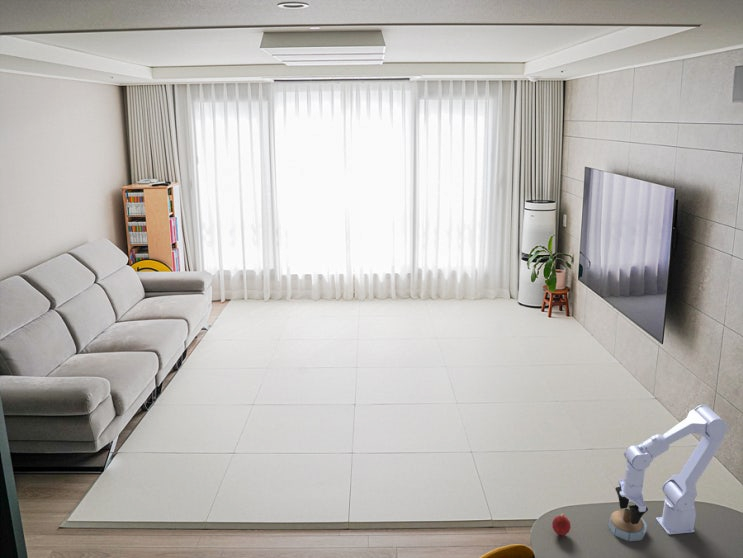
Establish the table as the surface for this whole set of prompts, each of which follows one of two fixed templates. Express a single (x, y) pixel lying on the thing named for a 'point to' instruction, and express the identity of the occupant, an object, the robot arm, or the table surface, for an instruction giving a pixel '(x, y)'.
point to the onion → (561, 525)
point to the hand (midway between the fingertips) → (628, 515)
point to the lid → (625, 521)
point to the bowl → (628, 535)
